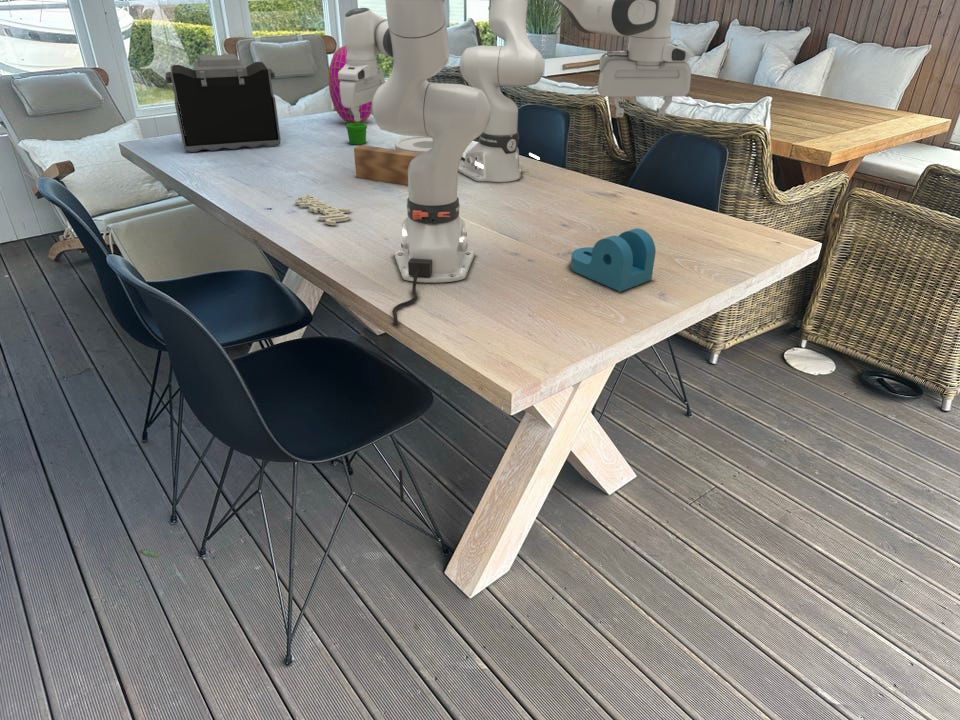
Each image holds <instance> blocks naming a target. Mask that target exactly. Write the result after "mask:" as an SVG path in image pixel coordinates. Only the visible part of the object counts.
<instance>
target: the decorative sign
mask: <svg viewBox="0 0 960 720" xmlns="http://www.w3.org/2000/svg"><path fill="white" fill-rule="evenodd" d="M295 205H296V206H299V208H308V210H309V213H310V212H311V213H314V214H318V213H320V214H323V215H318V220H319V221H321V222H323V221H325V224H326V225H328V226H337V223H340V222H347V221H349V220H350V215H349V213H350V212H351V209H350V208H349V207H335V206H333V205H331V204H330V203H326V201H323V200H321V199H320V198H318V197H316V196H314V195H313V194H305V195H303V196H301V195H298V196H297V200H295Z"/></svg>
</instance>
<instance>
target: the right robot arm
mask: <svg viewBox="0 0 960 720" xmlns="http://www.w3.org/2000/svg"><path fill="white" fill-rule="evenodd" d="M444 2H445V0H444V1H443V3H444ZM528 5H529V0H491V1H490V9H489V17H488V26H489V29H490V30H491V32H492V33H493V34H494V35H495V36H496V37H498V38H500V40H503V41H504V42H505V45H475V46H470V47H467V48H465V50H463V52H462V54H461V56H460V59H459V71H460V74H461V76H462V78H463V80H464V81H465V82H466V83H468V84H469V86H470V87H474V88H477V89H480V90H482V91H483V92H484V93H485V95H486V97H487V98H488V101H489V104H490V110H491V114H490V120H489V123H488V126H487V128H486V129H485V131H484V132H483V133H482V134H481V135H480V136H479V137H478V138H479V139H478V142H477V143H476V144H475V145H474V146H473V147H471V148H470V149H469V150H468V151H467V152H466V153H465V156H464V157H463V156H462V157H461V160H462V161H463V162H464V164H463V165H459V168H458V173H461V174H462V175H465V176H466V177H468V178H470V179H472V180H473V181H475V182H491V183H507V182H508V183H509V182H514V181H518V180H520V179H521V177H522V175H521V173H522V168H521V167H520V165H521V164H520V150H519V147H518V145H519V141H520V136H519V134H520V133H519V131H518V124H519V123H518V122H519V108H518V106H517V104H516V103H515V101H513V100H512V99H510V97H507V96H506V95H504V94H503V92H502V91H501V87H502V86H505V87H528V86H533V85H537V84H538V83H539V82H540V80H541V79H542V77H543V75H544V72H545V61H544V57H543V55H542V54H541V52H540V51H539V50H538V49H537V48H536V47H535V46H534V45H533V44H532V42H531V40H530V39H529V36H528V32H527V15H528ZM343 19H344V20H343V37H344V38H343V39H344V46H346V48H347V57H346V60H347V64H345V66H344V67H343V68H342V69H341V70H340V71H339V72H338V78H339V79H340V80H341V82H340V96H341V102H342V105H343V106H344V107H346V108H351V111H352V113H353V115H354V120H355V121H361V120H362V115H361V114H360V113H359V106H360V105H363V104H366V103H368V102H372V101H373V97H374V94H375V93H376V91H377V89H378V88H379V87H380V86H381V85H382V84H384V83H385V82H386V80H385V75H384V74H383V70H382V67H380V65H378V61H377V60H378V59H377V55H379V54H380V55H384V56H386V57H390V58H393V49H392V42H391V36H390V31H389V26H388V20H387V18H386V17H382V16H380V15H378V14H376V13H375V12H374V11H372V10H371V9H370V8H369V7H357V8H353V9H350V10H348V11H347V12H346V13H345V15H344V17H343ZM370 115H372V116H373V113H372V108H371V114H370ZM528 155H529V156H530V157H532V158H534V159H536V160H538V161H539V160H541V159H540V157H539V156H537V155H536V154H533V153H531V152H529V153H528Z"/></svg>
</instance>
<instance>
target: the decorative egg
mask: <svg viewBox="0 0 960 720" xmlns="http://www.w3.org/2000/svg"><path fill="white" fill-rule="evenodd" d="M346 57H347V48H346V45H343V46H340V47H338V48H337V49H336V51H334V53H333V56H332V57H331V61H330V63H329V69H328V90H329V96H330V99H331V103H332V105H333V108H334V110H335V111H336V113H337V114H338V116H339V118H341V119H342V120H343V121H344V122H346V123H348V124H349V123H355V120H354V115H351V114H349V112H348V111H349V110H351V108H346V107H344V106H343V105H342V102H341V96H340V84H339V83H340V82H341V80H340V79H339V78H338V72H339V71H340V70H341V69H342V68H343V67H344V66H345V64H347V60H346ZM371 108H372V102H368V103H366V104H363V105H360V106H359V113H360V114H361V115H362V120H361V121H357V123H364V122H365V121H366V120H368V118H369V117H370V116H371V115H372V114H371Z"/></svg>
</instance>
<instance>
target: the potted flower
mask: <svg viewBox="0 0 960 720" xmlns="http://www.w3.org/2000/svg"><path fill="white" fill-rule="evenodd" d="M339 84H340V83H339ZM348 112H349V114H351V115H353V113H352V111H351V110H349V111H348ZM345 128H346V131H347V136H348V141H349V144H352V145H365V144H366V143H367V129H368V124H367V123H366V122H365V123H364V122H361V123H357V121H355V123H349V122H348V123H347V124H346V125H345Z"/></svg>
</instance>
